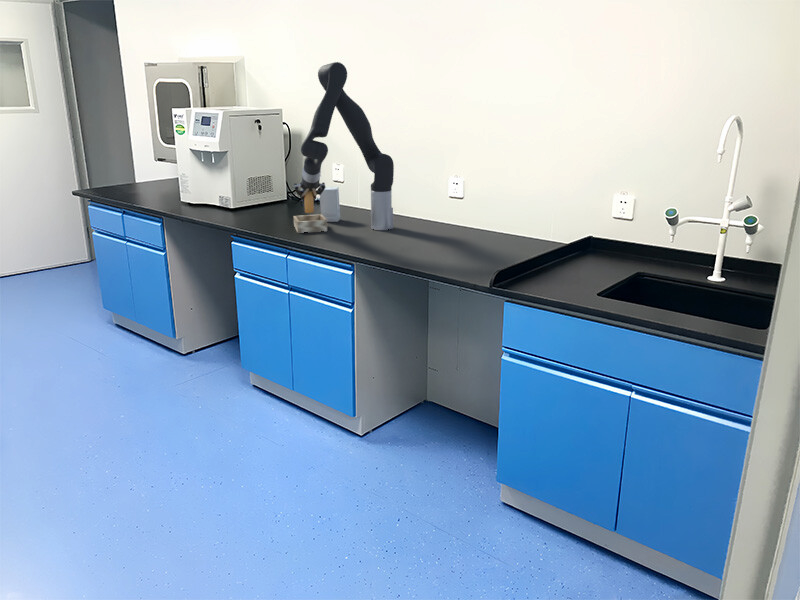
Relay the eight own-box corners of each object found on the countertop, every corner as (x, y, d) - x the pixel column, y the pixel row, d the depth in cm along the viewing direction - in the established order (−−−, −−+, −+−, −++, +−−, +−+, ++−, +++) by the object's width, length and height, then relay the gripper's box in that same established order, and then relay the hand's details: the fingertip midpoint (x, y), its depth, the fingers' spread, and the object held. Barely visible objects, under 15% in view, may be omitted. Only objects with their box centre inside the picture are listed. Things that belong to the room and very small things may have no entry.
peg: (313, 210, 283) (312, 184, 279) (314, 212, 279) (313, 185, 275) (304, 211, 282) (303, 184, 278) (305, 213, 278) (304, 185, 274)
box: (322, 225, 291) (321, 214, 289) (327, 231, 279) (326, 220, 277) (294, 226, 287) (293, 216, 286) (297, 233, 276) (297, 221, 274)
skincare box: (340, 219, 303) (339, 187, 298) (337, 222, 297) (336, 189, 291) (323, 219, 304) (322, 186, 298) (320, 222, 297) (319, 189, 292)
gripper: (326, 167, 269) (322, 191, 284) (293, 168, 265) (291, 192, 280) (329, 181, 266) (325, 205, 281) (295, 183, 262) (293, 206, 277)
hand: (308, 198), depth 281 cm, fingers closed on peg, 4 cm apart
